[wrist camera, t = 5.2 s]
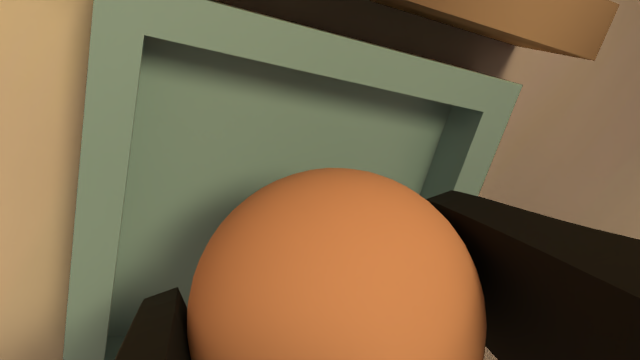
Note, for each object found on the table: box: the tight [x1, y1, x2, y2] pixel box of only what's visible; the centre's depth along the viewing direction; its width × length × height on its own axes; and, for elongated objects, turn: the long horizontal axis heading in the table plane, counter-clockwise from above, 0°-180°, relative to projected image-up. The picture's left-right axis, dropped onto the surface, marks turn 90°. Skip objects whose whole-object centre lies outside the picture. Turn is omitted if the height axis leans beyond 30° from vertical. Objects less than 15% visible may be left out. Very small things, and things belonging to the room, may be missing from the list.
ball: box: [187, 168, 487, 360], centre depth 8 cm, size 5×5×5 cm
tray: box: [63, 0, 523, 360], centre depth 11 cm, size 9×9×2 cm
